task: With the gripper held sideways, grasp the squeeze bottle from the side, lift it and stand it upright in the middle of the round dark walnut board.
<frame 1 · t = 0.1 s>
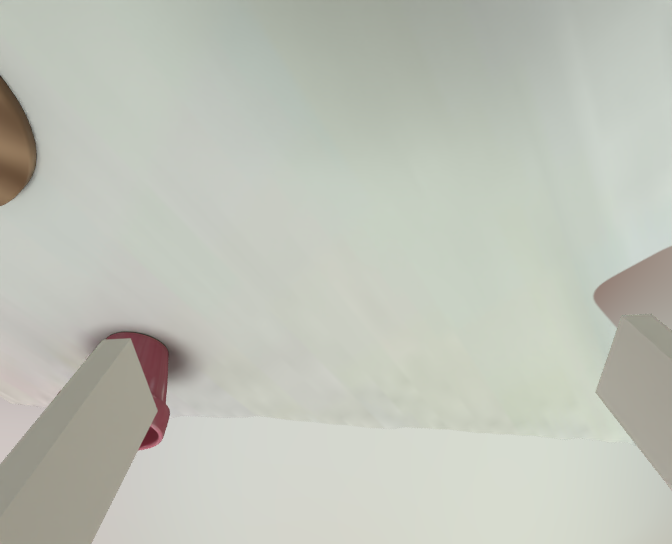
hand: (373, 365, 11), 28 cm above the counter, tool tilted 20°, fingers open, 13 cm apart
plant pot: (138, 347, 60), on the counter
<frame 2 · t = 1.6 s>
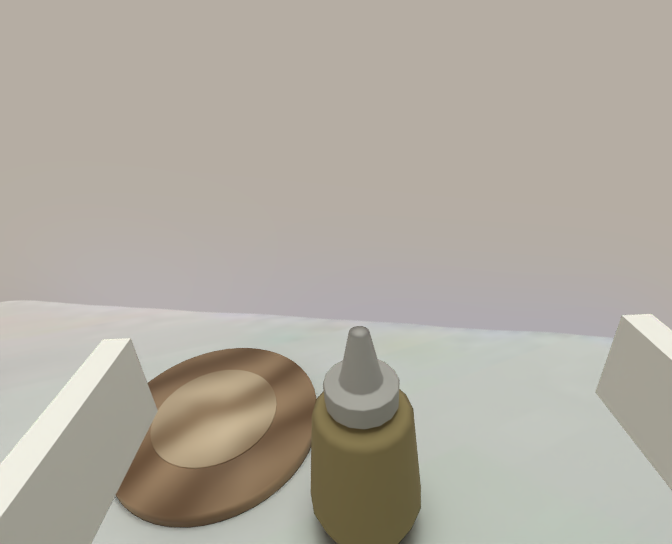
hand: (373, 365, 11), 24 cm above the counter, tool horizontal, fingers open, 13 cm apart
squeeze bottle: (366, 520, 31), on the counter
walnut board: (218, 423, 40), on the counter
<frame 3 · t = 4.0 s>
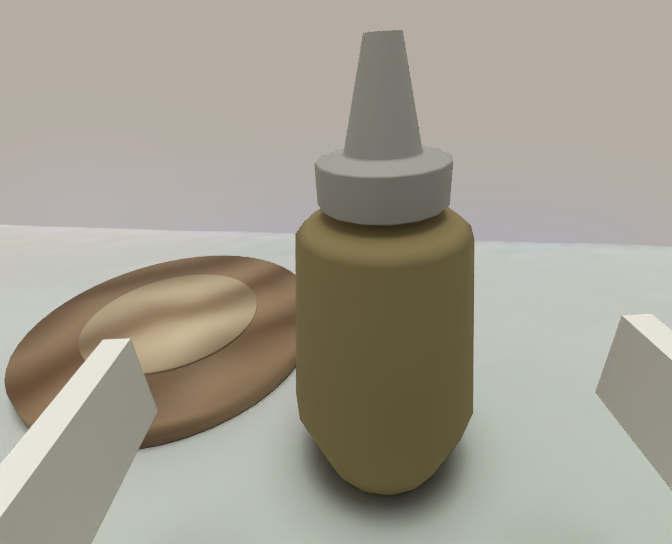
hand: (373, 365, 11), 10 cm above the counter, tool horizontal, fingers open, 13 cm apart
squeeze bottle: (382, 444, 20), on the counter
walnut board: (178, 333, 29), on the counter
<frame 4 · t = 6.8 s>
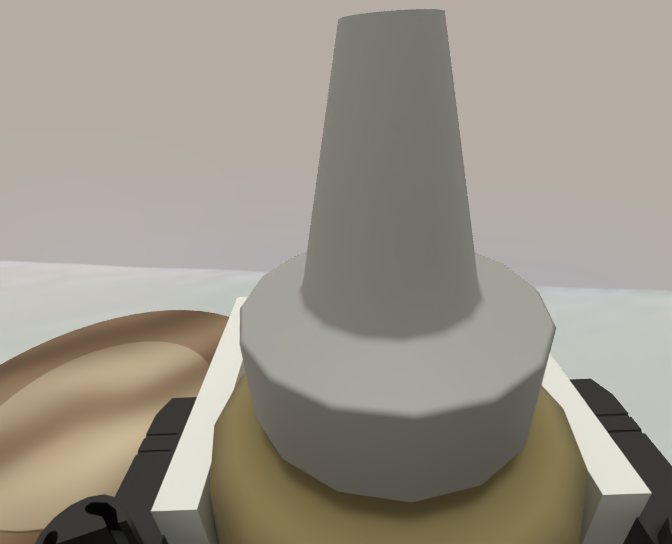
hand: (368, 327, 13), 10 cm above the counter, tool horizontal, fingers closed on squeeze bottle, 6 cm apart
walnut board: (109, 434, 22), on the counter
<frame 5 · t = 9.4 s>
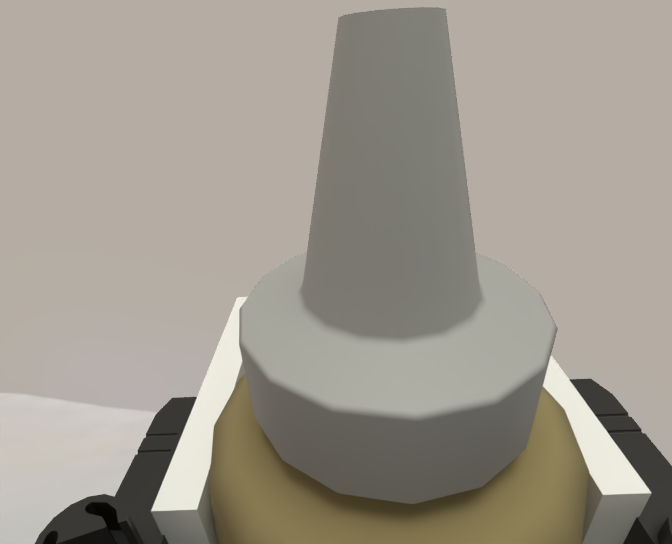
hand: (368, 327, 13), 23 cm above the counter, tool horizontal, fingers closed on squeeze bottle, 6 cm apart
when the fingers open (13 cm above the counter, at t = 12.0 s): squeeze bottle drops 1 cm, resting on walnut board.
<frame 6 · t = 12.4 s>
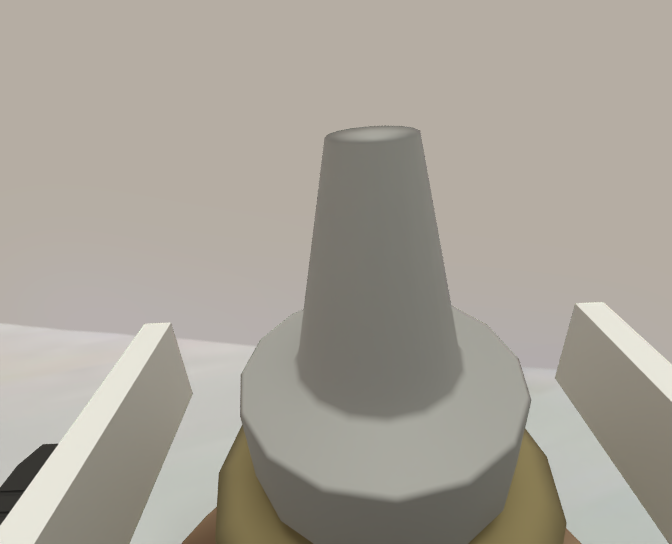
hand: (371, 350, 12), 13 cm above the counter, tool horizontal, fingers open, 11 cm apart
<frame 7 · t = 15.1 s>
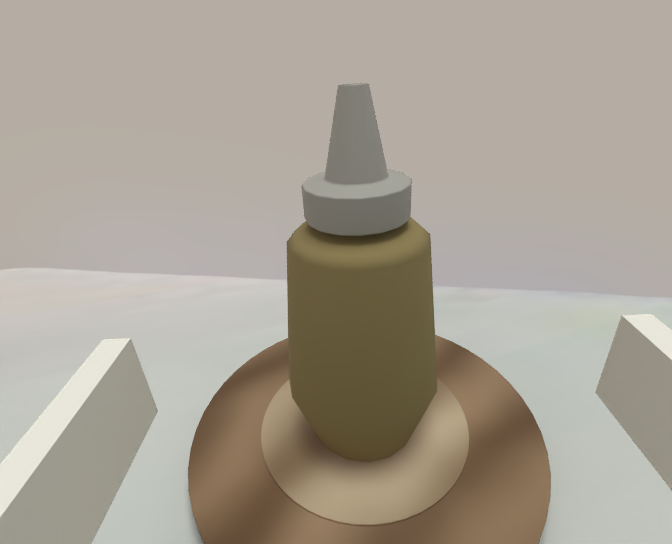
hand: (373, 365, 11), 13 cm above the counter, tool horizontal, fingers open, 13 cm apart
squeeze bottle: (364, 422, 24), point 2 cm above the counter, touching walnut board
walnut board: (363, 438, 24), on the counter
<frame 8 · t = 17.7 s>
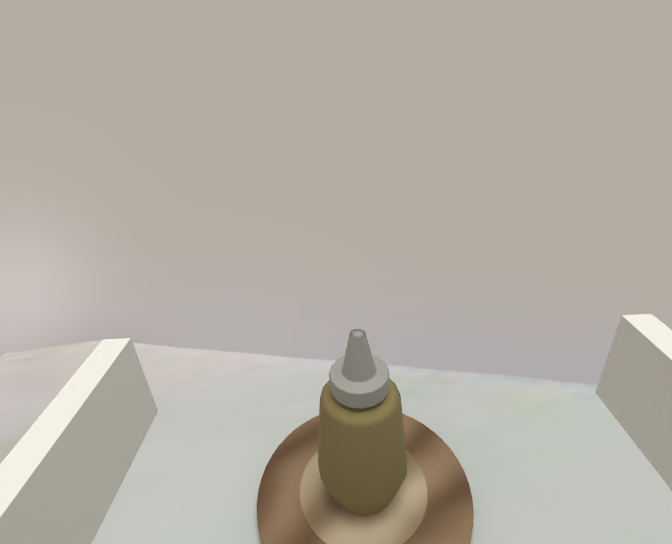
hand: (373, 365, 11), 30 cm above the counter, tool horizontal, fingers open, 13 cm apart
squeeze bottle: (363, 487, 38), point 2 cm above the counter, touching walnut board
walnut board: (363, 497, 39), on the counter
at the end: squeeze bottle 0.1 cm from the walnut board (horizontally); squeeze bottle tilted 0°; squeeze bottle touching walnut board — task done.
